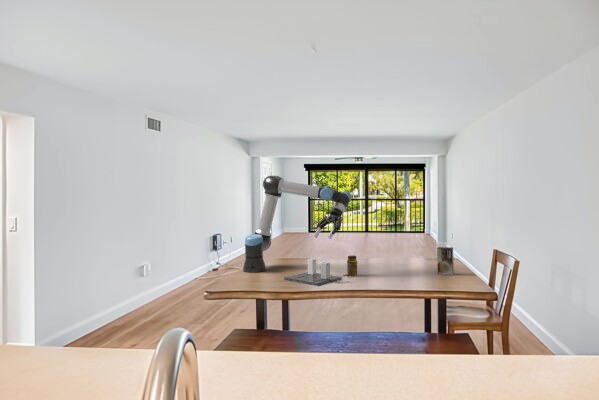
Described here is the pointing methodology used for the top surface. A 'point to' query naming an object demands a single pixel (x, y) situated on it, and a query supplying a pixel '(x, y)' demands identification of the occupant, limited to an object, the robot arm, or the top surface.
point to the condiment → (351, 267)
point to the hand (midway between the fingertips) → (322, 237)
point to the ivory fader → (312, 266)
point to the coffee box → (445, 260)
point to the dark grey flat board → (311, 279)
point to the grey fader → (325, 270)
